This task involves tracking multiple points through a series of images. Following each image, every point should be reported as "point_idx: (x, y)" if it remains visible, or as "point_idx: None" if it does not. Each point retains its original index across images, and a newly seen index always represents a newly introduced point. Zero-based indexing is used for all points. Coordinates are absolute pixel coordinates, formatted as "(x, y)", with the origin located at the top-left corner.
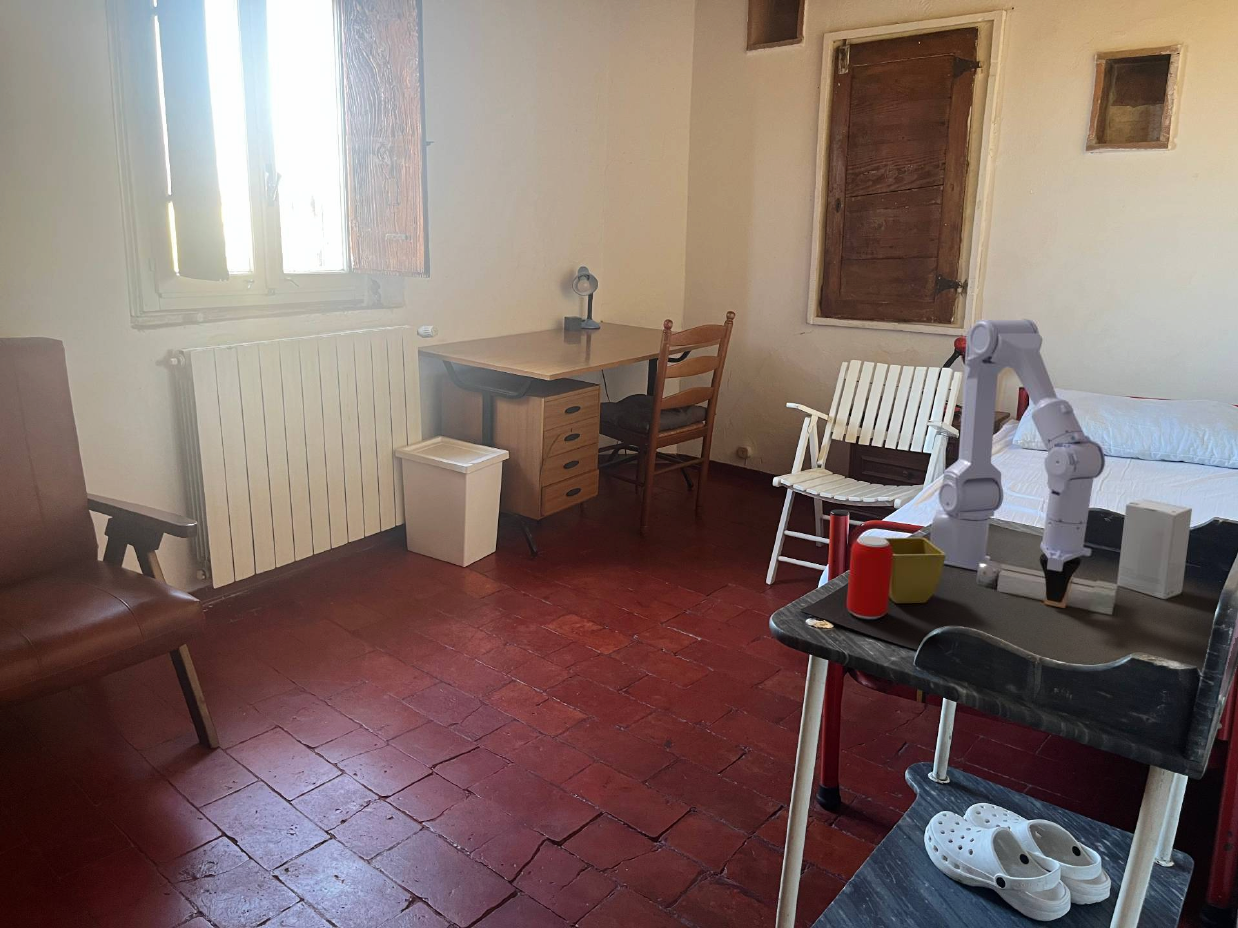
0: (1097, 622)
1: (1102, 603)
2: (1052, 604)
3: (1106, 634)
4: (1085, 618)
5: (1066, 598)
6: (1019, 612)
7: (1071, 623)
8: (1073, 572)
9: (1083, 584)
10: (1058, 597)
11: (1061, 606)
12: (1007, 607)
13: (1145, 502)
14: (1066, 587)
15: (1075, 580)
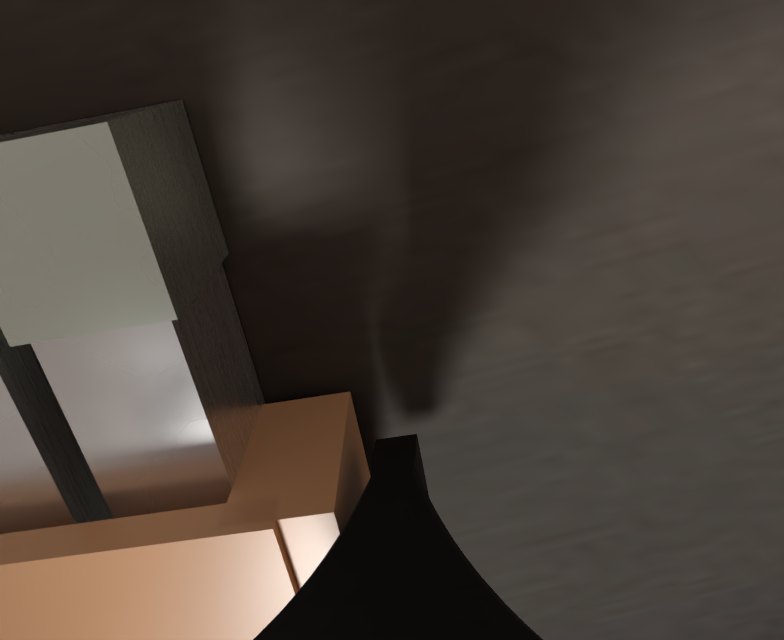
0: (436, 140)
1: (182, 198)
2: (364, 460)
3: (665, 2)
4: (417, 233)
5: (307, 432)
6: (607, 544)
7: (593, 278)
8: (536, 634)
9: (32, 429)
10: (420, 476)
11: (354, 412)
12: (570, 603)
13: None
14: (433, 509)
15: (3, 496)
